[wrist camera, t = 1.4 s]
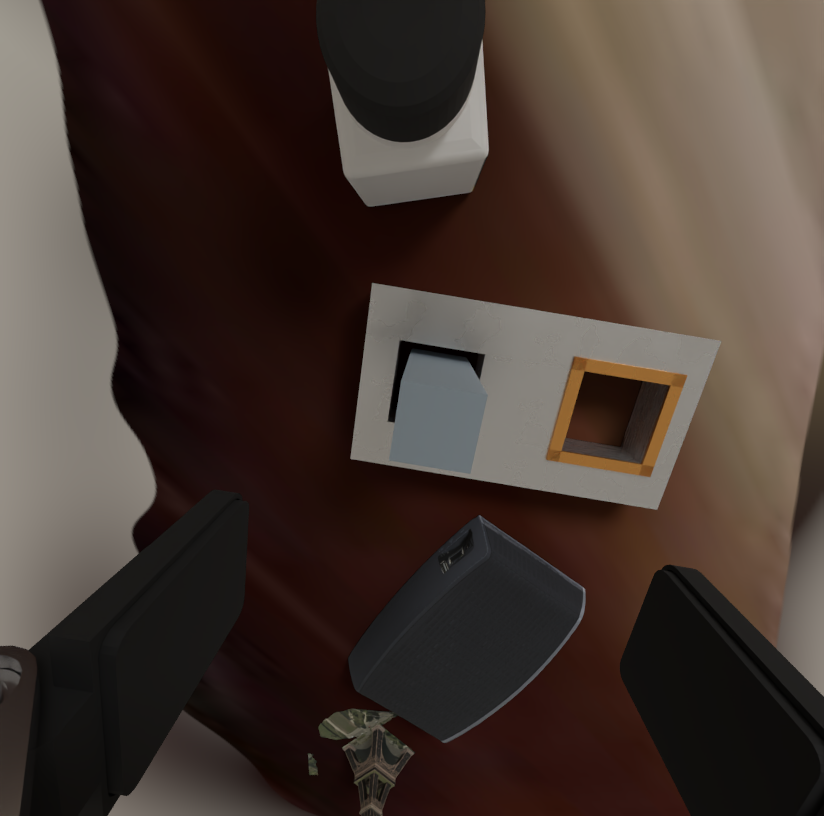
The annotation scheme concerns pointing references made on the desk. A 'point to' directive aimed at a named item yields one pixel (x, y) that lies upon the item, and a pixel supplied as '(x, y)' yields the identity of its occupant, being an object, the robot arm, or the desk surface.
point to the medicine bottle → (407, 95)
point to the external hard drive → (466, 632)
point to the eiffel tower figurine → (367, 753)
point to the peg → (438, 412)
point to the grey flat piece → (539, 392)
